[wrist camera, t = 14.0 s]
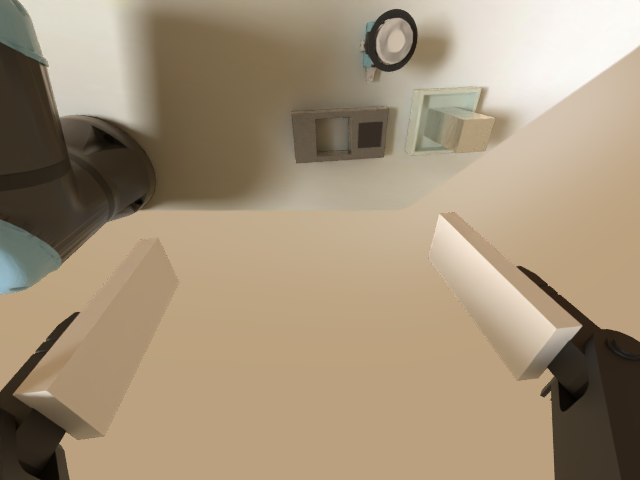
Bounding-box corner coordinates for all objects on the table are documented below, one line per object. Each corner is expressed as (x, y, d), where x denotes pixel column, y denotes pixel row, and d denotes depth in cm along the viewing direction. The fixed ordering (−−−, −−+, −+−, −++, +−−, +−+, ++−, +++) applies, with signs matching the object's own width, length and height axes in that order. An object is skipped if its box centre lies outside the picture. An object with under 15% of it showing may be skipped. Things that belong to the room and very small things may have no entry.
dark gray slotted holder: (295, 158, 43) (296, 163, 41) (291, 111, 39) (291, 114, 37) (379, 152, 44) (383, 157, 41) (383, 106, 40) (388, 108, 38)
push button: (384, 81, 38) (412, 86, 30) (348, 80, 37) (366, 85, 29) (393, 21, 34) (427, 8, 26) (353, 20, 34) (375, 6, 25)
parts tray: (405, 151, 44) (410, 155, 42) (414, 89, 39) (421, 91, 37) (456, 147, 45) (464, 151, 42) (471, 86, 39) (481, 88, 37)
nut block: (423, 135, 42) (456, 152, 34) (428, 108, 40) (464, 119, 32) (446, 133, 43) (485, 150, 34) (453, 106, 40) (495, 117, 32)
